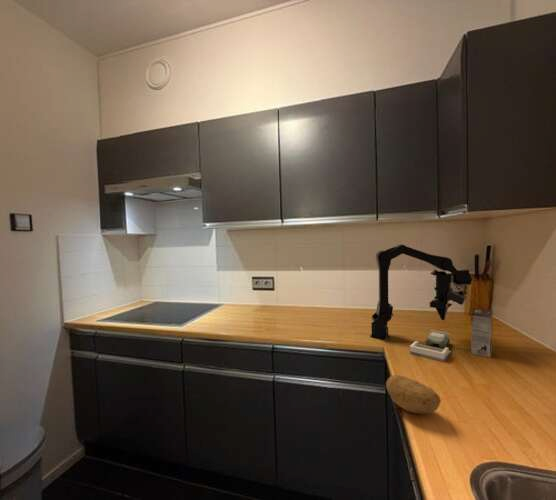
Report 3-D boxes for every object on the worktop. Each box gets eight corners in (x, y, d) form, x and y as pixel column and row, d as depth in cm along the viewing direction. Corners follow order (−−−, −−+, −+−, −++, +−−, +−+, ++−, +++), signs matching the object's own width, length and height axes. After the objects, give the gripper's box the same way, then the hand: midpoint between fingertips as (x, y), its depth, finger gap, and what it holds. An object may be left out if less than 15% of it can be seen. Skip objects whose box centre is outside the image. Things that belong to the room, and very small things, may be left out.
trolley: (424, 345, 122) (424, 334, 122) (430, 339, 128) (430, 329, 128) (445, 350, 117) (445, 339, 117) (450, 344, 123) (450, 333, 123)
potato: (430, 430, 71) (430, 399, 71) (379, 405, 82) (379, 377, 82) (447, 414, 77) (447, 385, 77) (397, 392, 88) (397, 366, 88)
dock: (409, 353, 115) (409, 346, 115) (418, 345, 123) (418, 338, 123) (443, 361, 107) (443, 353, 107) (450, 352, 115) (450, 344, 115)
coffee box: (473, 346, 120) (473, 307, 119) (492, 349, 116) (492, 309, 115) (470, 353, 113) (470, 312, 112) (491, 357, 109) (491, 315, 108)
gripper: (459, 290, 116) (459, 329, 117) (468, 283, 129) (468, 318, 130) (429, 287, 123) (429, 324, 124) (441, 281, 137) (441, 314, 138)
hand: (443, 319), depth 129 cm, fingers closed
